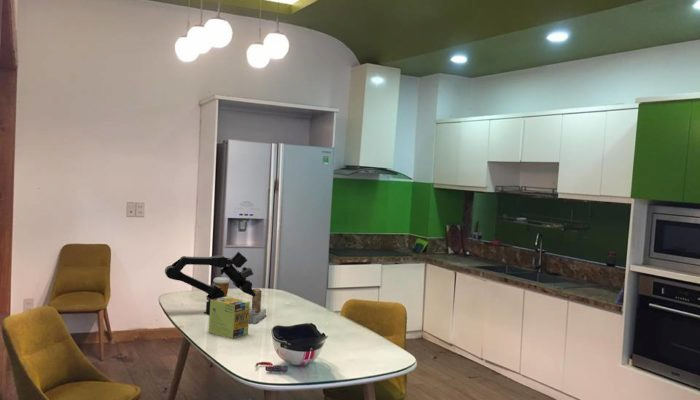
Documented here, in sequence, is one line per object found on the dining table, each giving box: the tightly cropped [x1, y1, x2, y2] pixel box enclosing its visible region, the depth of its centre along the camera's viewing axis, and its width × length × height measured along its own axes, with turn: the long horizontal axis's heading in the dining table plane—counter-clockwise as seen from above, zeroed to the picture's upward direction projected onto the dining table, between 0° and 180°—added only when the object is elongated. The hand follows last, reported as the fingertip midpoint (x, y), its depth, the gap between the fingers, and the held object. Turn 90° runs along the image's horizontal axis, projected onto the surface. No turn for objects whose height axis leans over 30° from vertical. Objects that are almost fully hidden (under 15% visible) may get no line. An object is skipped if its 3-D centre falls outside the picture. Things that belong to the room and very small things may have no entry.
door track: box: [249, 307, 267, 325], centre depth 296 cm, size 8×18×4 cm, turn 172°
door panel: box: [251, 288, 262, 314], centre depth 312 cm, size 3×6×12 cm, turn 26°
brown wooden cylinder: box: [213, 276, 231, 297], centre depth 338 cm, size 10×10×12 cm
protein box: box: [208, 296, 251, 340], centre depth 268 cm, size 10×15×16 cm
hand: (252, 294), depth 311 cm, fingers open, 9 cm apart
